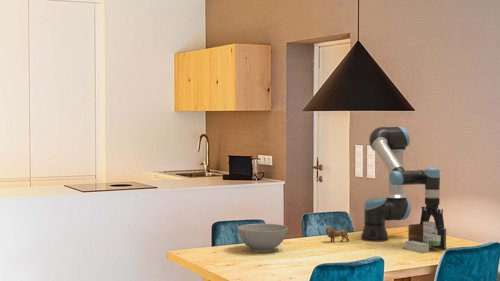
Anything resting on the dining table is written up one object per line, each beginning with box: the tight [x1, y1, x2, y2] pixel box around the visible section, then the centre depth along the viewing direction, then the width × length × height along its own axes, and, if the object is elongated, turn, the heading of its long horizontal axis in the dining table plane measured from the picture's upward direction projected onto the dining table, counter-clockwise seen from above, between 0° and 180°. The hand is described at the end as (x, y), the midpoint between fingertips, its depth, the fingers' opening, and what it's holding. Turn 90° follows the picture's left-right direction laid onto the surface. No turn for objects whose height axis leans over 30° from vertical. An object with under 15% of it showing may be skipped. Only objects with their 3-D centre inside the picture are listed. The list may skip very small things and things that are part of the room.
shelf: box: [402, 223, 445, 254], centre depth 383 cm, size 16×19×13 cm
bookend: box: [431, 227, 448, 251], centre depth 386 cm, size 10×2×11 cm, turn 28°
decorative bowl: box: [236, 223, 289, 253], centre depth 385 cm, size 27×27×12 cm
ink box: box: [423, 220, 440, 246], centre depth 381 cm, size 9×5×12 cm, turn 26°
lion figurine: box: [325, 226, 351, 244], centre depth 409 cm, size 15×5×9 cm, turn 106°
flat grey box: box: [404, 240, 430, 254], centre depth 379 cm, size 12×6×4 cm, turn 28°
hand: (431, 240), depth 382 cm, fingers closed on ink box, 9 cm apart
